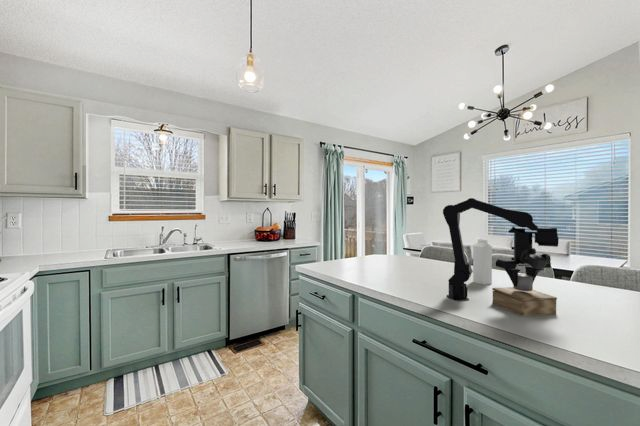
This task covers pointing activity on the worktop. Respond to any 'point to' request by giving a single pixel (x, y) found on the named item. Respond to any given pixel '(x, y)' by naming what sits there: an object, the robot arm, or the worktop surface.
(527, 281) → the grey rounded block
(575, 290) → the worktop surface
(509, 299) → the box
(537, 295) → the lid
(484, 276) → the milk
